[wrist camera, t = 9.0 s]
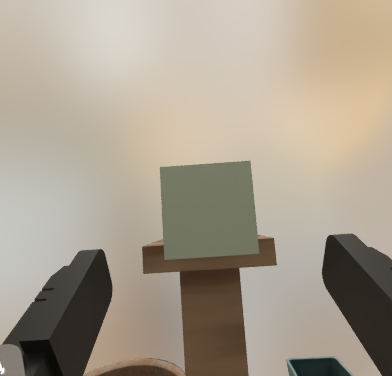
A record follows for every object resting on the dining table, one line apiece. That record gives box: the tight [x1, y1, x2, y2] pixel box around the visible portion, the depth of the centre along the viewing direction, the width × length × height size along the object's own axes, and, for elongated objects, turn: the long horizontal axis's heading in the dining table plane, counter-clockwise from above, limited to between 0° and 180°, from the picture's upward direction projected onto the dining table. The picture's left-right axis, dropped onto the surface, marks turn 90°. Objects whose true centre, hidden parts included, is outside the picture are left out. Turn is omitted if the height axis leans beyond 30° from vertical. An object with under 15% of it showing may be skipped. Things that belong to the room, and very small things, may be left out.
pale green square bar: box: [160, 161, 259, 260], centre depth 23 cm, size 24×4×4 cm, turn 178°
